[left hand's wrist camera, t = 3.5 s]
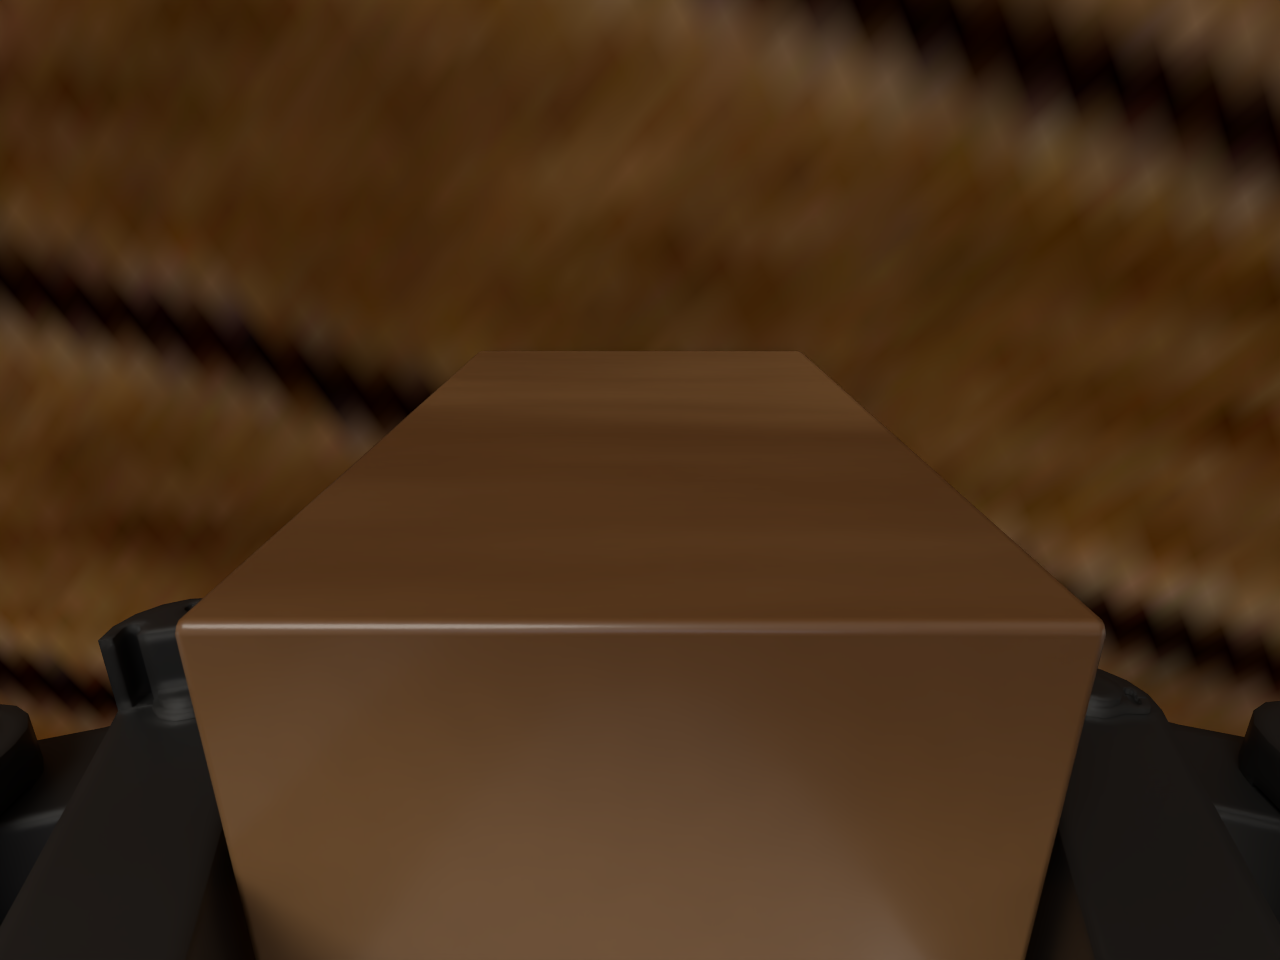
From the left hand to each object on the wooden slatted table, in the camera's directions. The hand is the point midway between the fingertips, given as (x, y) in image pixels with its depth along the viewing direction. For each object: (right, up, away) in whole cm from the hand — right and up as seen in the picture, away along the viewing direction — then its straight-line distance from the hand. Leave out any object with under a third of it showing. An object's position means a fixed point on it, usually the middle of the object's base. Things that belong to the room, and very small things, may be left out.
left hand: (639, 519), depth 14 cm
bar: (0, -9, +4) cm, 10 cm away
